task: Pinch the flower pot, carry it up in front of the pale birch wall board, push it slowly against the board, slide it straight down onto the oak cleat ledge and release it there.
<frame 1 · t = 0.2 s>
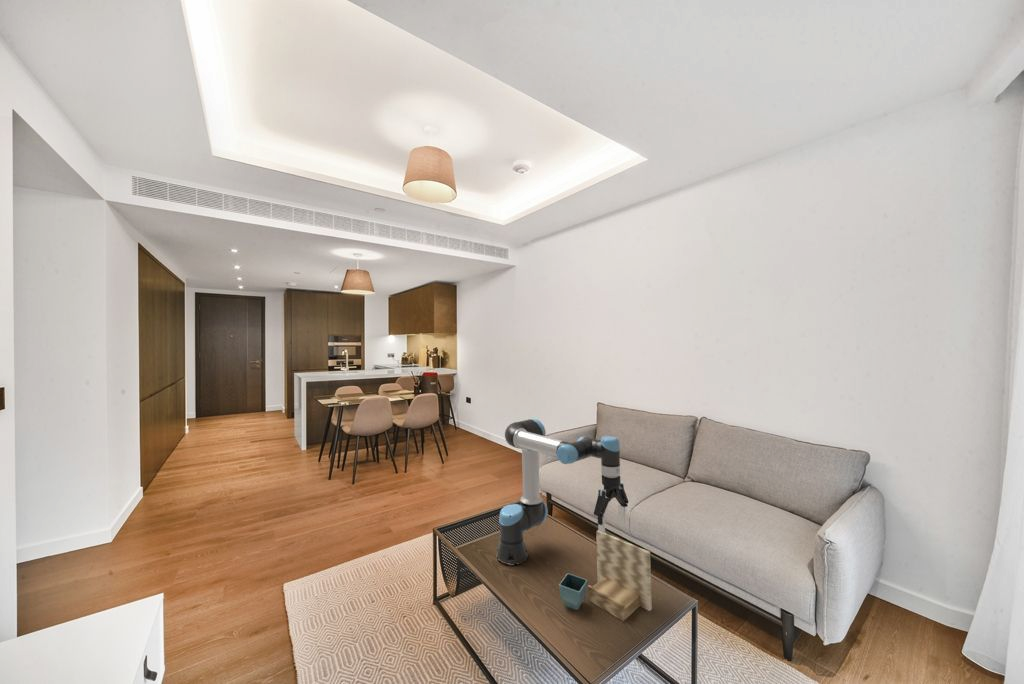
hand: (612, 526, 152), 27 cm above the table, fingers open, 13 cm apart
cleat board: (613, 602, 146), on the table
flower pot: (573, 605, 145), on the table
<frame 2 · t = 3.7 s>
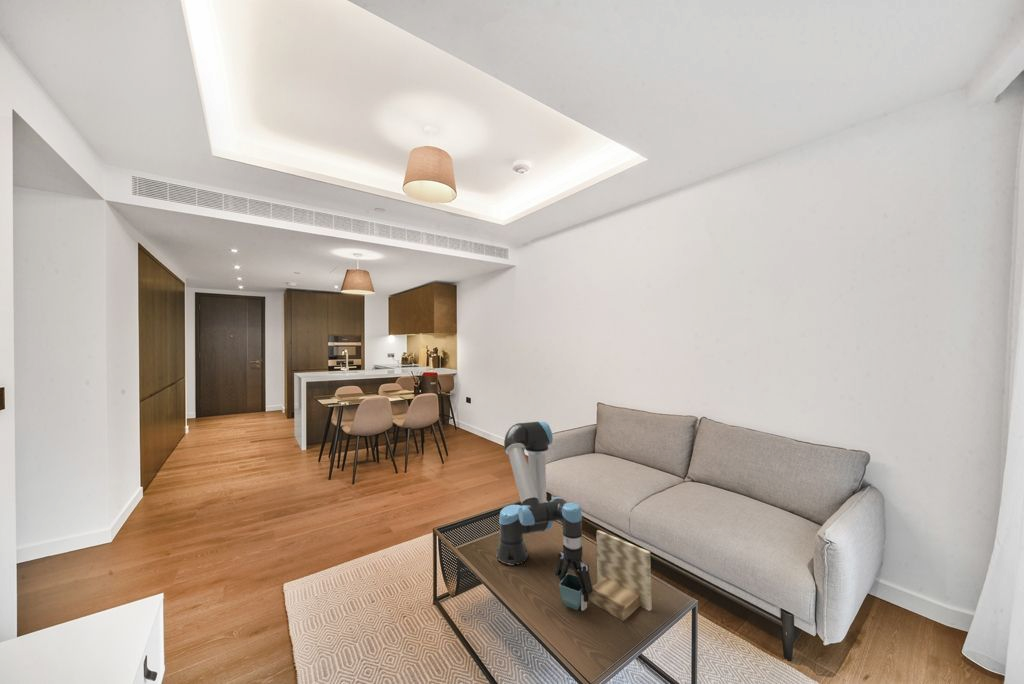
hand: (573, 602, 145), 1 cm above the table, fingers closed on flower pot, 9 cm apart
flower pot: (573, 605, 145), on the table, touching gripper
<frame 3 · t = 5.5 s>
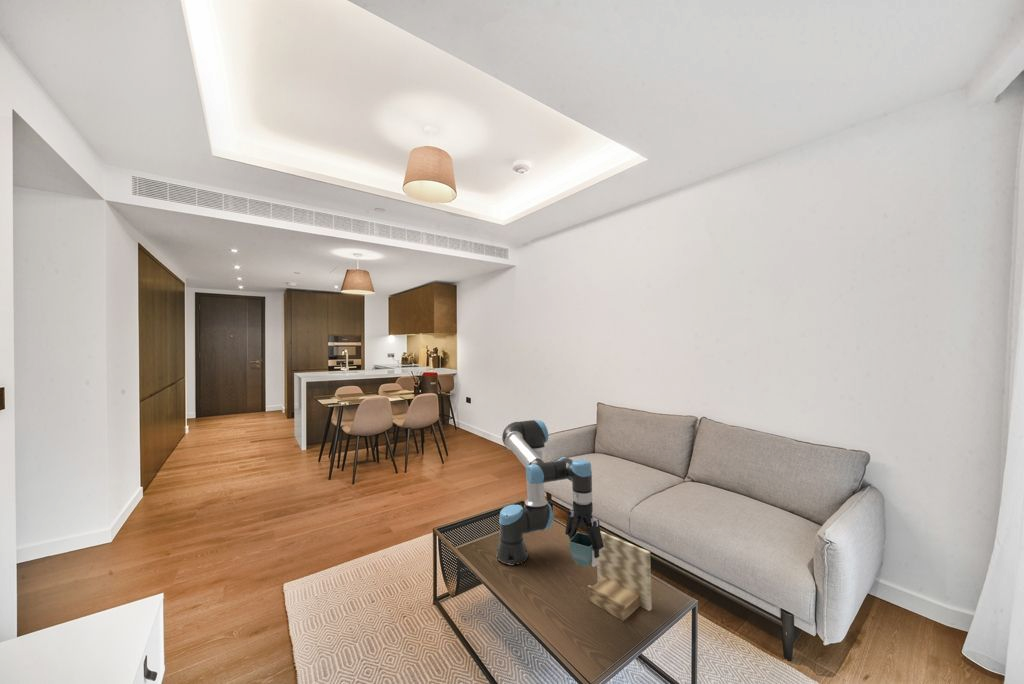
hand: (584, 559, 142), 19 cm above the table, fingers closed on flower pot, 9 cm apart
flower pot: (584, 563, 142), point 18 cm above the table, touching gripper
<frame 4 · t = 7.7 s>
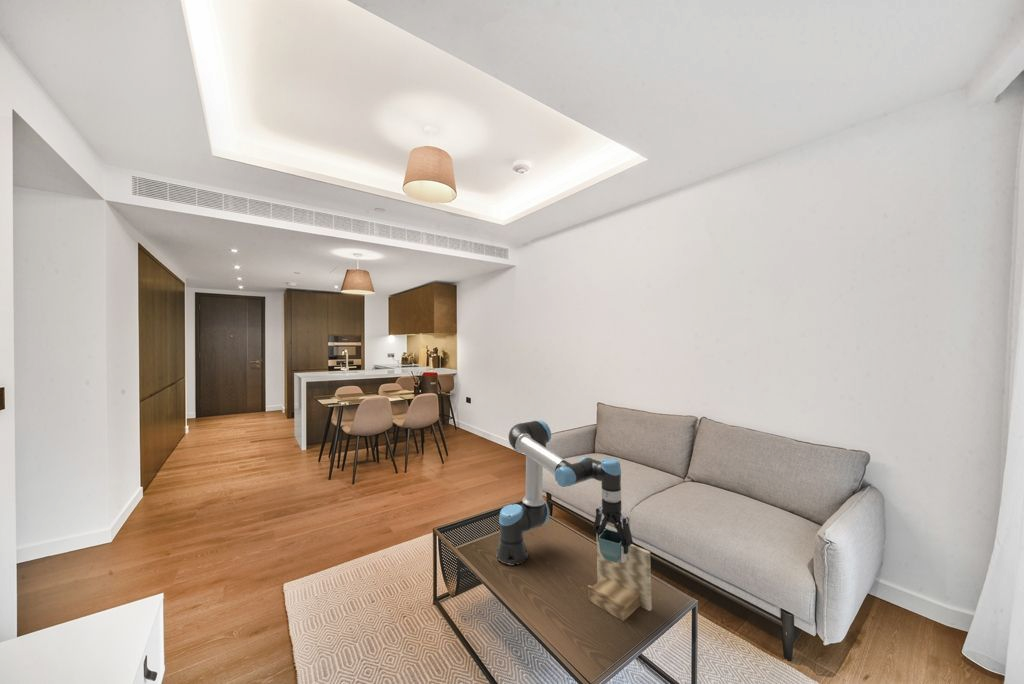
hand: (612, 555, 147), 19 cm above the table, fingers closed on flower pot, 9 cm apart
flower pot: (612, 559, 147), point 17 cm above the table, touching gripper
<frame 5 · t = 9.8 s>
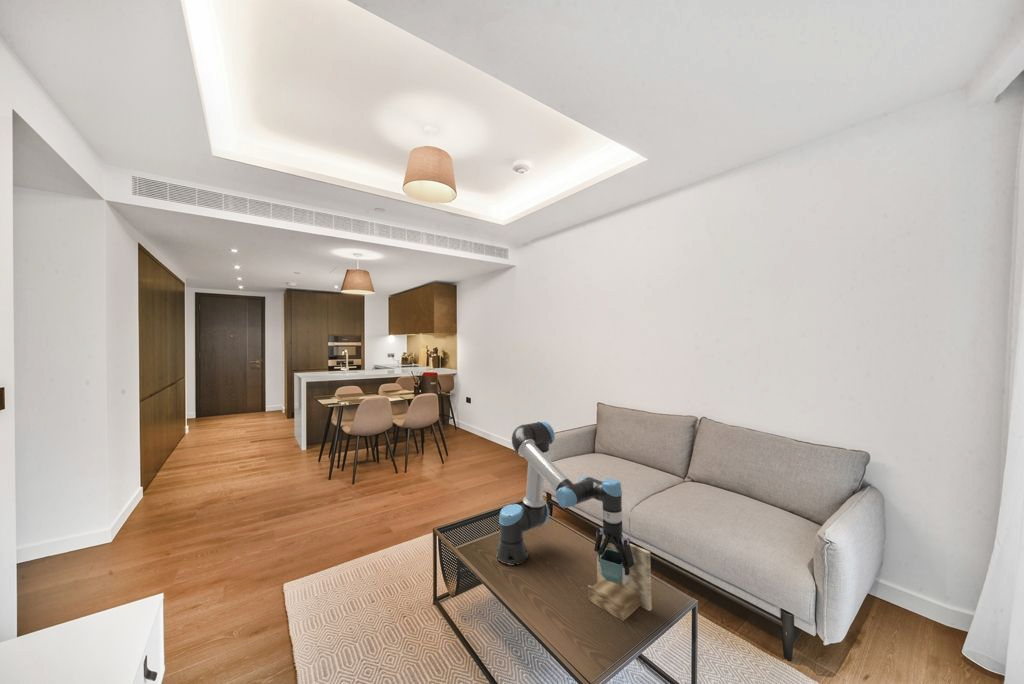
hand: (613, 576, 147), 10 cm above the table, fingers closed on flower pot, 9 cm apart
flower pot: (613, 579, 147), point 9 cm above the table, touching gripper
when the fingers open (7 cm above the table, at t = 11.7 s): flower pot drops 1 cm, resting on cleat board.
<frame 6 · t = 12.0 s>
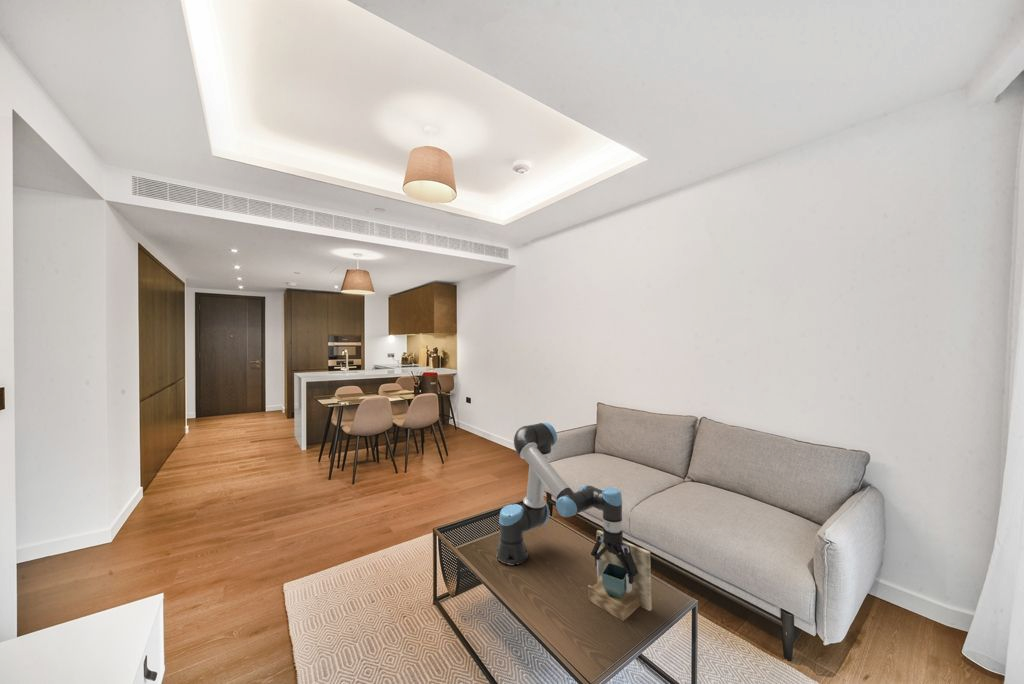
hand: (613, 582, 147), 8 cm above the table, fingers open, 13 cm apart
flower pot: (616, 594, 145), point 4 cm above the table, touching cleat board
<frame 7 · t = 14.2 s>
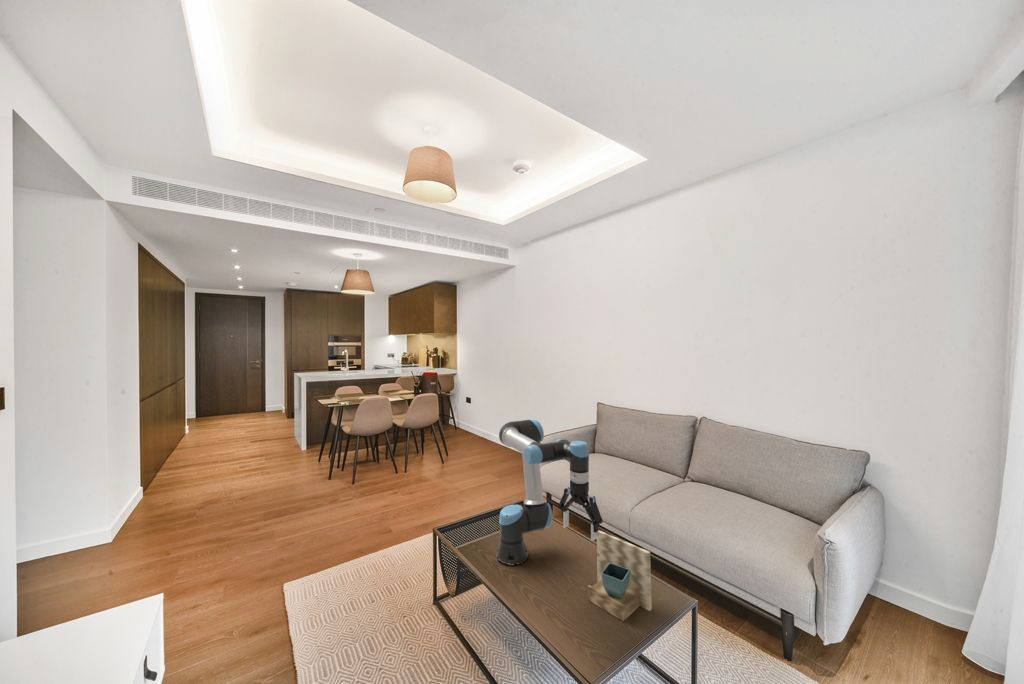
hand: (579, 532, 149), 27 cm above the table, fingers open, 13 cm apart
nothing on the table moved.
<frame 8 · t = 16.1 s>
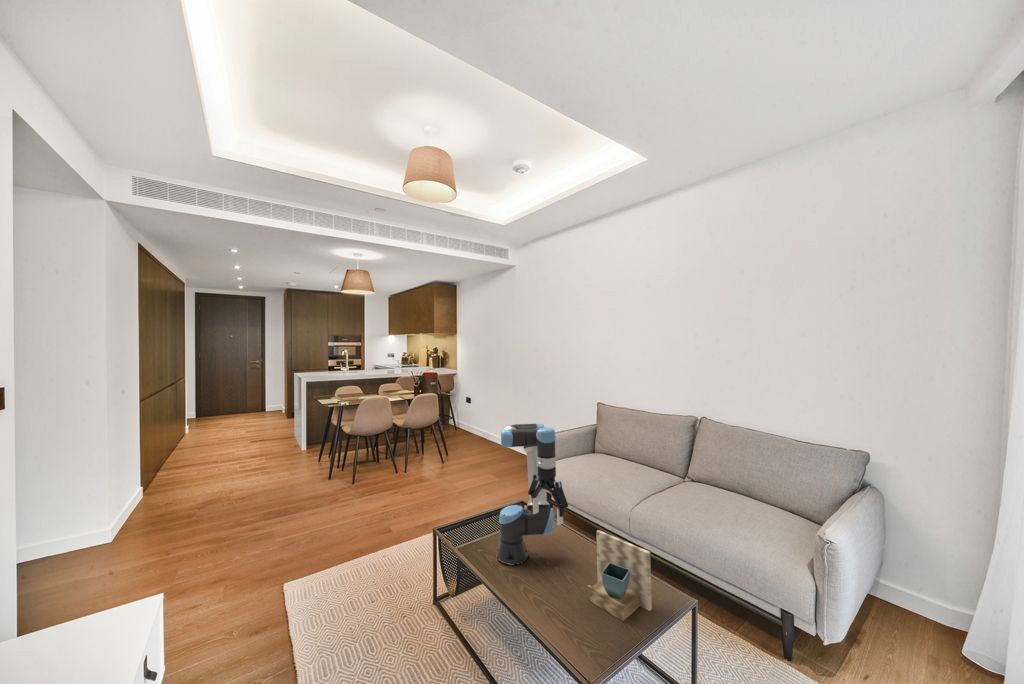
hand: (547, 518, 151), 32 cm above the table, fingers open, 13 cm apart
nothing on the table moved.
at the end: flower pot inside the target area (1.4 cm from its centre), point 3.8 cm above the table; flower pot tilted 0°; the gripper is holding nothing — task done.
